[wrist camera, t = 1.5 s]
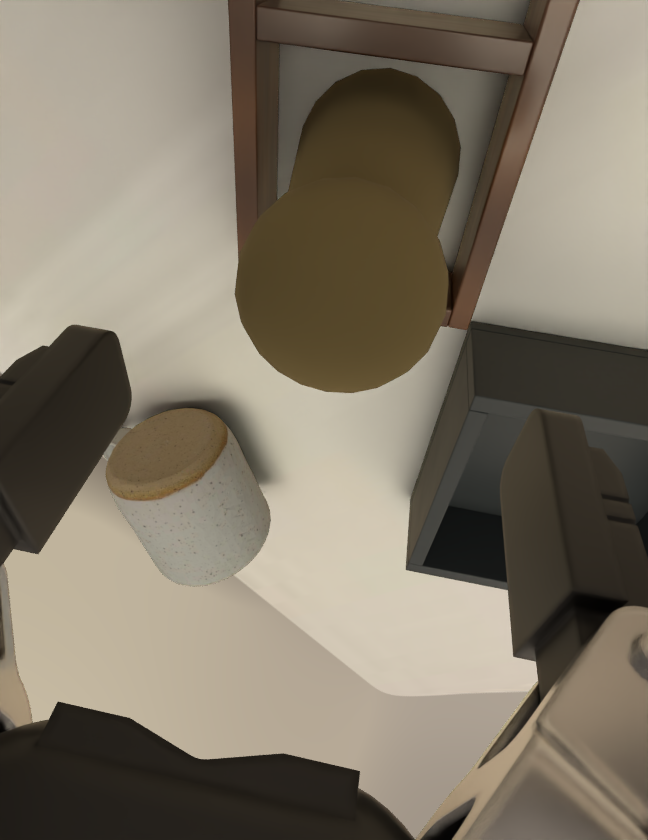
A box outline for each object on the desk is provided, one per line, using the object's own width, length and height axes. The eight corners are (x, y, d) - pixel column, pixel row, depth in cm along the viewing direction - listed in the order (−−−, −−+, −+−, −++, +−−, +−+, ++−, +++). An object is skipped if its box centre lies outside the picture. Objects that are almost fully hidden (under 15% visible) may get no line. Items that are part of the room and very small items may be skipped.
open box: (470, 320, 23) (474, 395, 20) (783, 372, 22) (847, 460, 19) (410, 498, 33) (405, 570, 29) (627, 539, 32) (649, 618, 28)
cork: (481, 79, 17) (509, 220, 9) (439, 250, 21) (434, 445, 14) (301, 57, 17) (182, 175, 10) (295, 230, 22) (210, 407, 14)
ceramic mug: (242, 393, 29) (191, 504, 23) (285, 486, 34) (252, 594, 29) (88, 404, 32) (13, 504, 27) (149, 487, 37) (97, 585, 32)
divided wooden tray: (250, -553, 10) (199, -670, 8) (724, -523, 10) (799, -642, 8) (258, 257, 23) (239, 292, 21) (465, 291, 22) (467, 331, 20)
